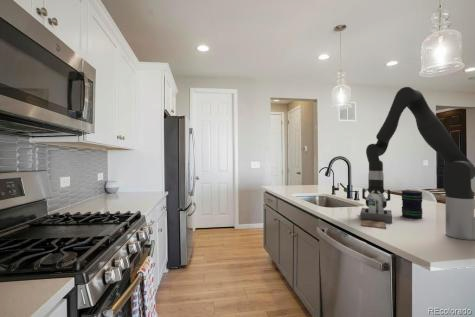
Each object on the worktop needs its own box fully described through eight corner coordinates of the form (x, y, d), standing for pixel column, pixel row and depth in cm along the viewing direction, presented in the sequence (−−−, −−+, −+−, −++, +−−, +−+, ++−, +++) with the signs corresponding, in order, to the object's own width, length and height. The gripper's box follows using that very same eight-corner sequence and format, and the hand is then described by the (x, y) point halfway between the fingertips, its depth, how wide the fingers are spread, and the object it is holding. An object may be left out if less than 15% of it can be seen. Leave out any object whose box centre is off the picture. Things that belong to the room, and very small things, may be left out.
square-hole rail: (391, 217, 140) (390, 210, 140) (392, 223, 127) (392, 215, 127) (362, 214, 147) (362, 207, 147) (360, 219, 135) (360, 212, 135)
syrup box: (367, 218, 139) (367, 192, 139) (374, 216, 141) (374, 192, 141) (377, 220, 133) (377, 194, 133) (384, 219, 136) (384, 193, 136)
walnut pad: (385, 223, 127) (385, 222, 127) (386, 228, 117) (386, 227, 117) (362, 220, 132) (362, 219, 132) (360, 225, 123) (360, 224, 123)
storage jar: (415, 215, 144) (415, 190, 144) (426, 219, 135) (426, 192, 135) (398, 214, 145) (397, 190, 145) (407, 219, 136) (407, 192, 136)
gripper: (361, 178, 138) (361, 207, 138) (390, 179, 130) (391, 209, 130) (362, 177, 144) (362, 204, 144) (390, 178, 137) (390, 207, 137)
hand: (376, 207), depth 137 cm, fingers closed on syrup box, 7 cm apart
